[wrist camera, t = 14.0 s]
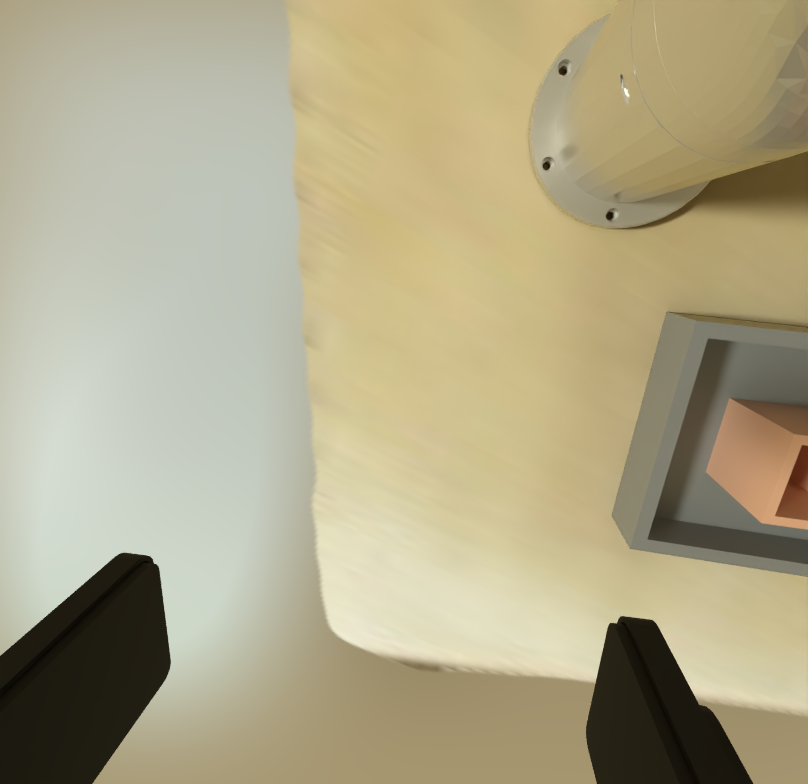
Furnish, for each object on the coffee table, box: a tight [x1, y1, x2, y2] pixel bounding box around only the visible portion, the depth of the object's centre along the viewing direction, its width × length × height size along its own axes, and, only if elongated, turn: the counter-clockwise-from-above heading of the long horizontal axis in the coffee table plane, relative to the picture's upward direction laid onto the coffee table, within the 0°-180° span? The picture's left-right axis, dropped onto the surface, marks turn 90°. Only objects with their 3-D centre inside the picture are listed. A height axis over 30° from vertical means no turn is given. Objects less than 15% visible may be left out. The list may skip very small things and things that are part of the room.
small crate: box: [706, 398, 808, 530], centre depth 31 cm, size 6×6×7 cm
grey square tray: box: [612, 312, 808, 577], centre depth 33 cm, size 17×17×4 cm
